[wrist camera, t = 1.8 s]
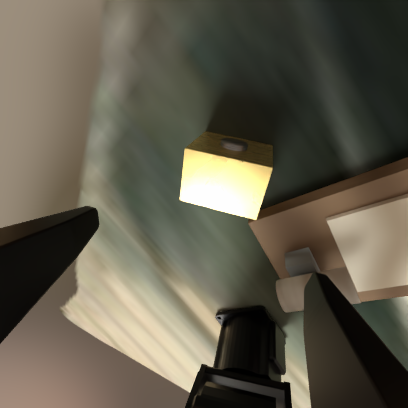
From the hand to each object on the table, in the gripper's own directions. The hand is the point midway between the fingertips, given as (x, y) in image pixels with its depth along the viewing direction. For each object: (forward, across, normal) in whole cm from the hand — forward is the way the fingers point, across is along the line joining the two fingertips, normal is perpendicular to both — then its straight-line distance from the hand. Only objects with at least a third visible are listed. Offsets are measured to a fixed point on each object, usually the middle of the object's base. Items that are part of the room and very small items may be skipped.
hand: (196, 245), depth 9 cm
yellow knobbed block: (+11, 0, 0) cm, 11 cm away
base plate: (+11, -12, +3) cm, 17 cm away
